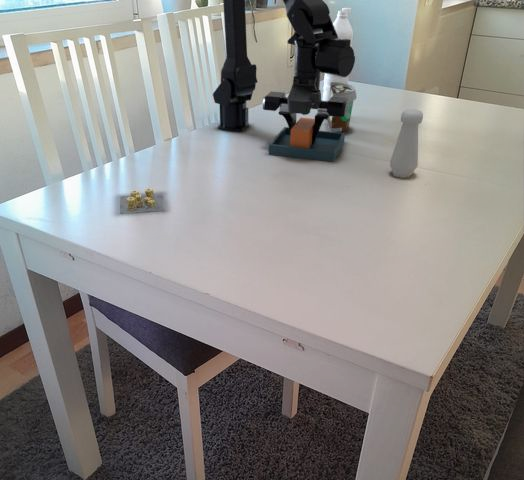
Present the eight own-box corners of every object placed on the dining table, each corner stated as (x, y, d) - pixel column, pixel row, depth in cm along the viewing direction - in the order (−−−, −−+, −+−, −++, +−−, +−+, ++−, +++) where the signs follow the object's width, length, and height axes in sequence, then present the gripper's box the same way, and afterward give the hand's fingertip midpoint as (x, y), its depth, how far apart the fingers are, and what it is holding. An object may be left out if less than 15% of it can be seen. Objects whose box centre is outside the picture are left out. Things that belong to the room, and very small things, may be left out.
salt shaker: (418, 172, 117) (430, 108, 109) (412, 181, 113) (425, 115, 105) (391, 167, 119) (402, 105, 111) (385, 176, 115) (395, 111, 107)
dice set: (128, 210, 100) (126, 200, 99) (128, 199, 104) (126, 189, 103) (155, 208, 101) (154, 198, 100) (154, 197, 105) (153, 188, 103)
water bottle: (341, 121, 146) (352, 12, 130) (318, 118, 148) (326, 11, 132) (349, 112, 152) (360, 8, 137) (326, 110, 154) (335, 7, 138)
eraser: (289, 151, 124) (290, 129, 121) (299, 138, 132) (300, 117, 129) (307, 153, 124) (309, 131, 120) (316, 140, 131) (318, 118, 128)
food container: (355, 137, 135) (360, 94, 129) (330, 136, 135) (334, 93, 129) (350, 122, 145) (354, 82, 139) (327, 122, 145) (330, 81, 139)
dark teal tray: (268, 154, 125) (268, 144, 123) (284, 136, 135) (284, 126, 134) (333, 161, 121) (334, 151, 120) (344, 142, 132) (345, 133, 131)
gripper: (255, 74, 113) (255, 149, 123) (344, 81, 110) (336, 158, 119) (270, 63, 122) (268, 135, 132) (352, 69, 118) (344, 142, 128)
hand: (303, 142), depth 127 cm, fingers closed on eraser, 4 cm apart
